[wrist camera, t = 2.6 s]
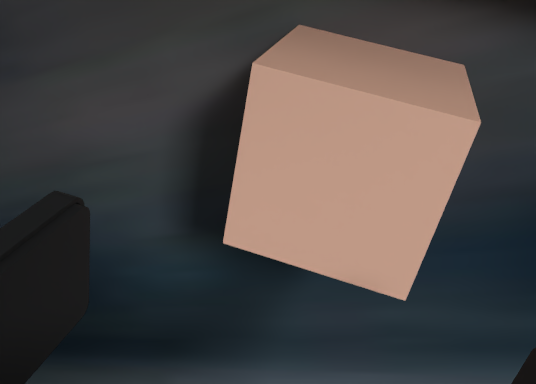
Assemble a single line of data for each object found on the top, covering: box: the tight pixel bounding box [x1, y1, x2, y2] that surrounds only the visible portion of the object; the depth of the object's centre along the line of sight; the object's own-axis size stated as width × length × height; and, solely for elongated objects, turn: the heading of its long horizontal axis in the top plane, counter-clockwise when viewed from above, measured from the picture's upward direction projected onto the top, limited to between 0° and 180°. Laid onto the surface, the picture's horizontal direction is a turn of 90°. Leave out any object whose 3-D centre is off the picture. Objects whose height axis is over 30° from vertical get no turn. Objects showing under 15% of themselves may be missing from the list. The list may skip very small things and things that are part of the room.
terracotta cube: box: [223, 25, 481, 300], centre depth 17 cm, size 6×6×6 cm
